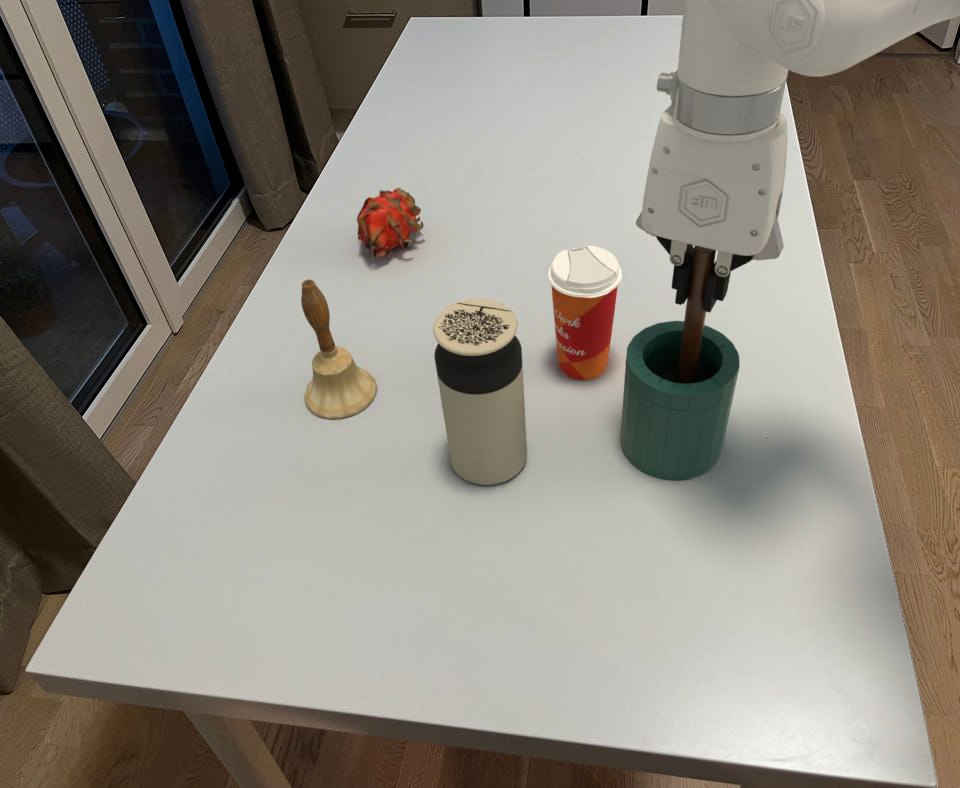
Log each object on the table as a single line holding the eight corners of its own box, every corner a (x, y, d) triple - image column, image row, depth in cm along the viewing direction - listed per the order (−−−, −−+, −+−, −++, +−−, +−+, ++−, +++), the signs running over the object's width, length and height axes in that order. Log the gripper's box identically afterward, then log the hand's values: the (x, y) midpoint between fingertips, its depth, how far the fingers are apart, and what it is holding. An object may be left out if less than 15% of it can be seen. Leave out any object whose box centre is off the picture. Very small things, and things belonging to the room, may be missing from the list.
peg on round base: (709, 403, 81) (739, 238, 67) (695, 432, 78) (723, 267, 64) (667, 390, 83) (688, 227, 69) (652, 418, 80) (671, 254, 66)
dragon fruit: (419, 229, 117) (384, 286, 110) (370, 196, 115) (331, 252, 108) (442, 197, 110) (406, 256, 103) (390, 160, 108) (350, 218, 101)
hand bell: (372, 418, 88) (344, 305, 77) (299, 421, 88) (260, 309, 77) (380, 366, 94) (355, 254, 82) (311, 369, 94) (277, 259, 83)
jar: (734, 424, 83) (753, 338, 75) (702, 494, 77) (719, 408, 69) (641, 395, 87) (650, 310, 79) (605, 459, 81) (609, 374, 73)
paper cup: (542, 348, 94) (539, 249, 84) (604, 336, 94) (609, 237, 85) (559, 393, 88) (558, 293, 78) (626, 380, 89) (633, 279, 79)
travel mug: (507, 497, 79) (496, 364, 66) (437, 472, 82) (413, 340, 69) (539, 441, 84) (534, 307, 71) (472, 420, 86) (456, 288, 74)
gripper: (605, 104, 58) (598, 301, 71) (829, 141, 52) (776, 349, 65) (643, 63, 63) (629, 256, 76) (853, 93, 57) (799, 297, 70)
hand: (697, 298), depth 70 cm, fingers closed on peg on round base
